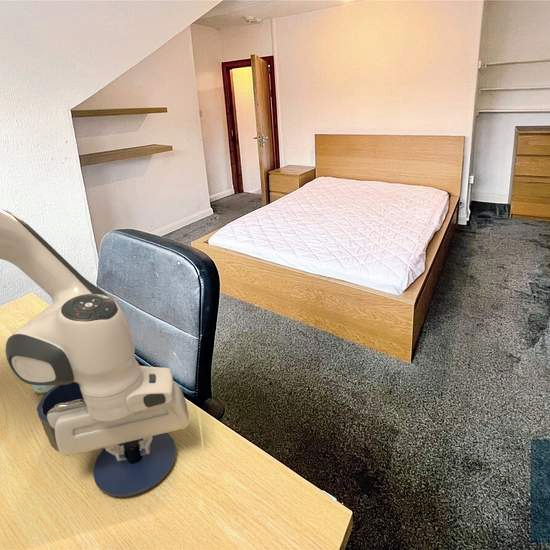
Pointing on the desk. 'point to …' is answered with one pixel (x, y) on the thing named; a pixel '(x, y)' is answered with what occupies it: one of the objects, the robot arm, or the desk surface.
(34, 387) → the pacifier
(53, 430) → the pot
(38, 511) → the desk surface
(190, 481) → the desk surface
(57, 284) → the robot arm
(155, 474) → the lid
